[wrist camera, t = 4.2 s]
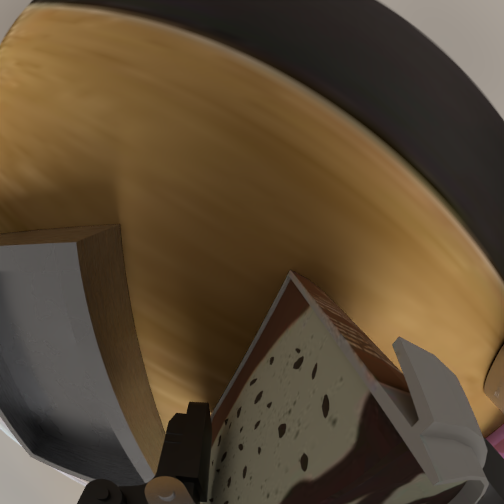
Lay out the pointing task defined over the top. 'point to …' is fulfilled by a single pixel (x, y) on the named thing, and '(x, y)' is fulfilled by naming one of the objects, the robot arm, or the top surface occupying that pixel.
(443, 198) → the top surface
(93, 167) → the top surface
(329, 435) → the grey speckled half-round piece
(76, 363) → the grey metal tray
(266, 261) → the top surface
